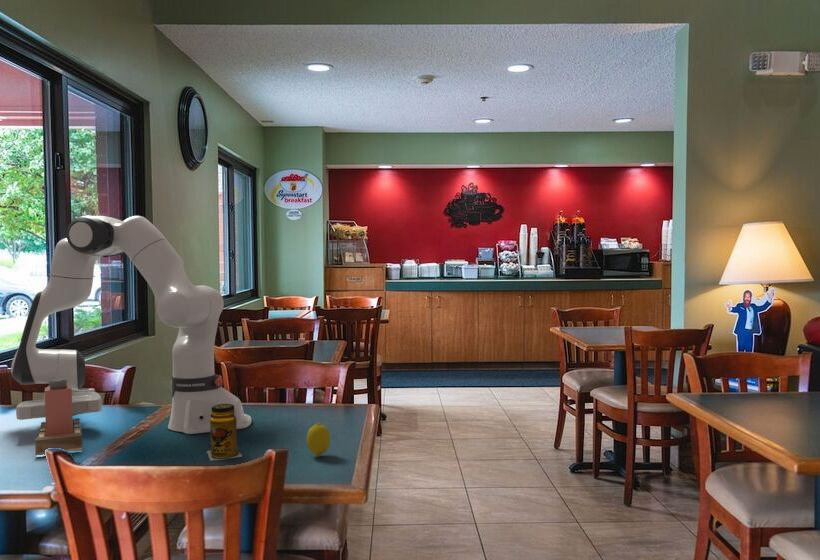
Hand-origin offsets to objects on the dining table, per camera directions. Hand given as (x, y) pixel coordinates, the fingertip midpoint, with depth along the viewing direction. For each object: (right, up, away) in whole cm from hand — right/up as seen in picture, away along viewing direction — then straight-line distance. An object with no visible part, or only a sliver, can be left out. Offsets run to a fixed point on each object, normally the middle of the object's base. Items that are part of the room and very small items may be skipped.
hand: (59, 413), depth 175 cm
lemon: (+69, -8, -15) cm, 70 cm away
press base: (+1, -7, -1) cm, 8 cm away
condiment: (+46, -8, -12) cm, 48 cm away
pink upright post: (+1, -6, -2) cm, 7 cm away
